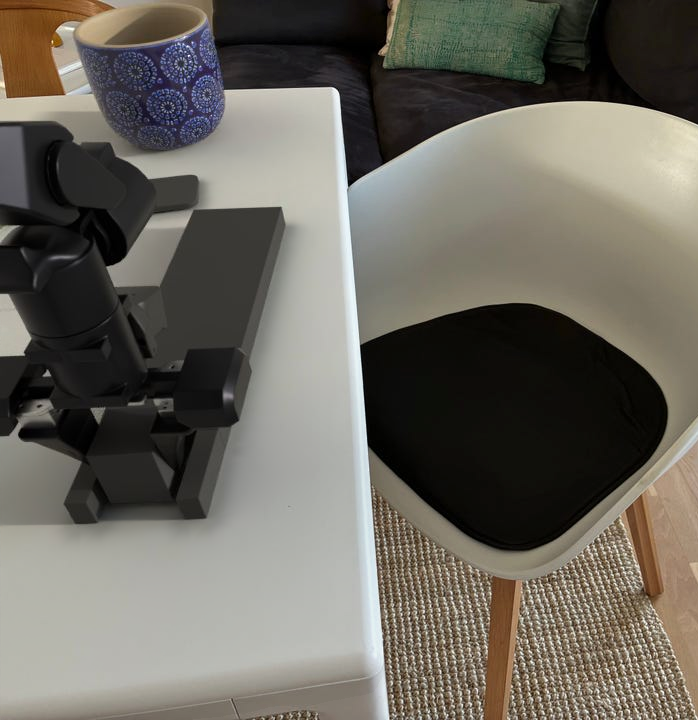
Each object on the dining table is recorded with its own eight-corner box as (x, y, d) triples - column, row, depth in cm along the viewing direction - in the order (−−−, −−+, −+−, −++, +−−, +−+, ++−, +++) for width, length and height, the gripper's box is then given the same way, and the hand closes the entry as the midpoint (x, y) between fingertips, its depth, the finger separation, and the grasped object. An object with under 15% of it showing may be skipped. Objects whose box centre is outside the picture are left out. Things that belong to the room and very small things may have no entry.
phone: (196, 202, 93) (62, 218, 90) (198, 208, 93) (64, 224, 91) (198, 173, 98) (72, 187, 95) (199, 179, 99) (74, 193, 96)
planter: (219, 160, 102) (189, 45, 92) (93, 163, 102) (49, 49, 92) (245, 106, 114) (221, 0, 104) (132, 109, 114) (97, 3, 104)
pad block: (173, 501, 60) (152, 453, 56) (110, 503, 60) (85, 456, 56) (188, 453, 63) (169, 406, 60) (129, 456, 63) (106, 408, 59)
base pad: (207, 518, 59) (198, 498, 58) (74, 524, 59) (62, 503, 57) (285, 225, 90) (281, 206, 89) (199, 228, 90) (193, 209, 88)
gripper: (241, 235, 56) (281, 390, 67) (-21, 245, 56) (61, 399, 66) (207, 335, 48) (259, 494, 58) (-100, 346, 48) (8, 504, 58)
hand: (145, 467), depth 60 cm, fingers closed on pad block, 5 cm apart
